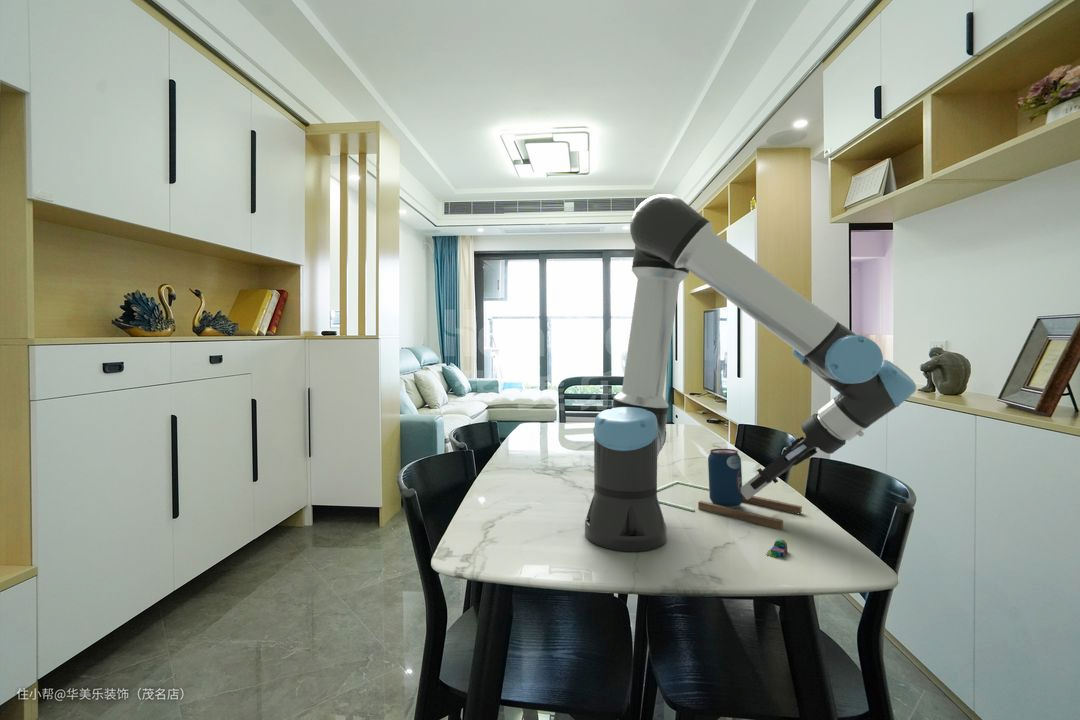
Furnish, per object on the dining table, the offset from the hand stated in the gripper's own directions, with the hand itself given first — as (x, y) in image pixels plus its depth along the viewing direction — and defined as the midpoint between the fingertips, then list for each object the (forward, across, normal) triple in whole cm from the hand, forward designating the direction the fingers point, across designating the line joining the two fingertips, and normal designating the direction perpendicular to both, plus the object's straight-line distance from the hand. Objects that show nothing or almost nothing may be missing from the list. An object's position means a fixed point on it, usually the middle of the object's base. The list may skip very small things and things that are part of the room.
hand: (744, 493), depth 105 cm
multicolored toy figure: (-7, -18, -12) cm, 23 cm away
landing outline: (+12, -1, +7) cm, 14 cm away
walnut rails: (+1, -1, -3) cm, 4 cm away
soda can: (+5, -1, 0) cm, 5 cm away
